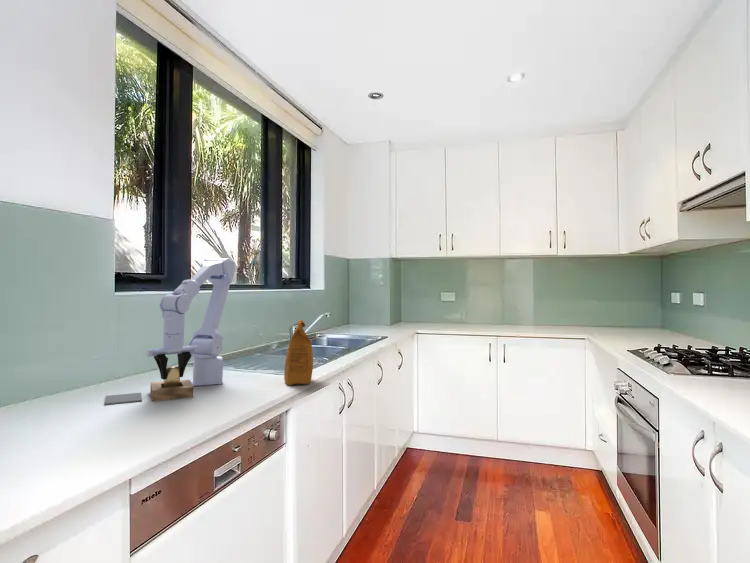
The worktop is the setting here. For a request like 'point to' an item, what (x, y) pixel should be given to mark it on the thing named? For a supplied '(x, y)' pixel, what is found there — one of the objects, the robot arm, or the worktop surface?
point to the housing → (171, 391)
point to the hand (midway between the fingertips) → (172, 377)
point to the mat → (123, 398)
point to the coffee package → (299, 358)
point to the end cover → (172, 377)
